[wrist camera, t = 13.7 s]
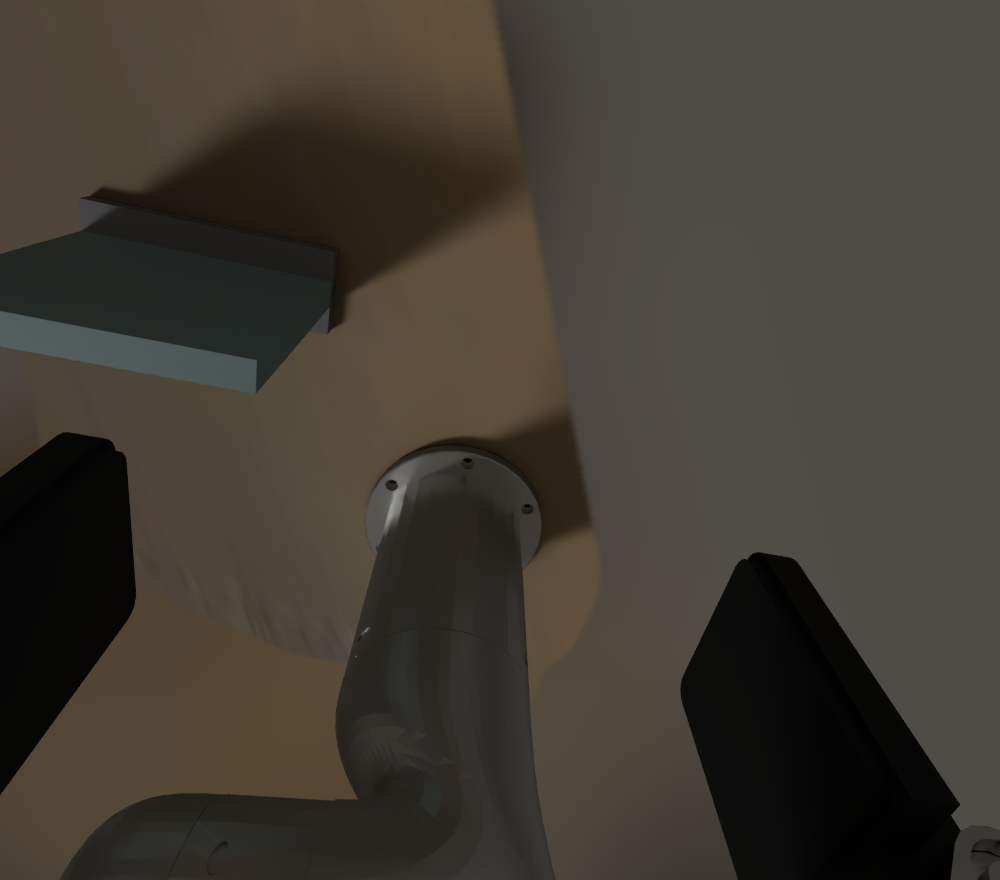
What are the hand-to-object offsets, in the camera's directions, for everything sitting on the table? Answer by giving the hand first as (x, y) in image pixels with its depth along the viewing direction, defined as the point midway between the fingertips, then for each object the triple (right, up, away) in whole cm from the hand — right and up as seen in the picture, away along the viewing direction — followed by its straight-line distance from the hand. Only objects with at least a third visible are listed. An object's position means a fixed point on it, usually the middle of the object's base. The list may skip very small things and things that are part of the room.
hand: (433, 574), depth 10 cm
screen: (-16, +12, +28) cm, 34 cm away
